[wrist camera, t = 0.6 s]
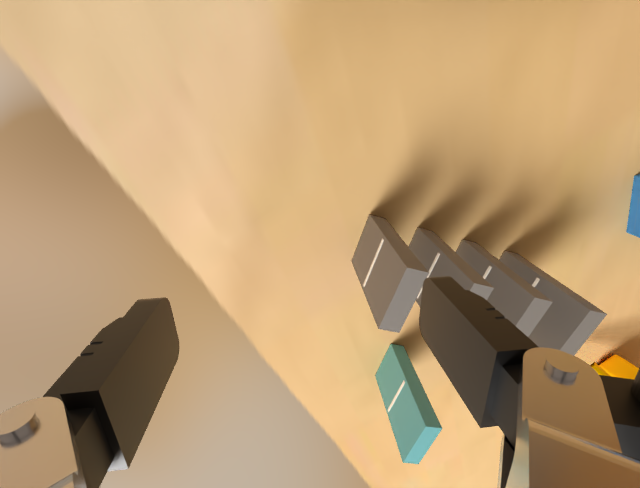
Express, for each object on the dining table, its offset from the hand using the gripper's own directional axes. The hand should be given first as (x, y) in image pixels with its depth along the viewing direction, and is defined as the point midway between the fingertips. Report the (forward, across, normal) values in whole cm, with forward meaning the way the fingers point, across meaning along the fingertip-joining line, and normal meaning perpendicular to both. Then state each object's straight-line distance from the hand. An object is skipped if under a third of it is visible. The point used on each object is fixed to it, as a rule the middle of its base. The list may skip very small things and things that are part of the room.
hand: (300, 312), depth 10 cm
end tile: (+20, -10, +21) cm, 31 cm away
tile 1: (+19, -7, +5) cm, 21 cm away
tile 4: (+19, -21, +10) cm, 30 cm away
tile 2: (+19, -12, +7) cm, 23 cm away
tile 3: (+19, -16, +8) cm, 27 cm away
